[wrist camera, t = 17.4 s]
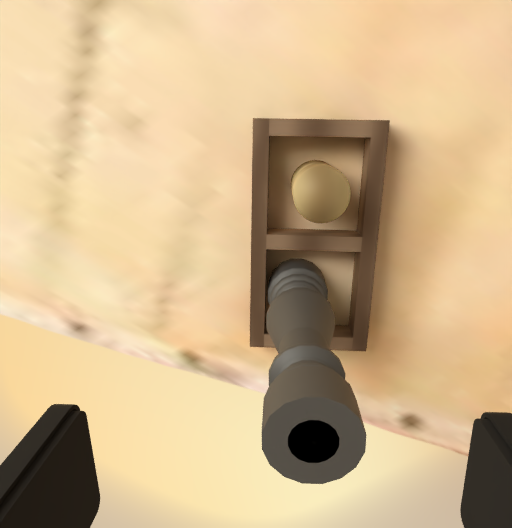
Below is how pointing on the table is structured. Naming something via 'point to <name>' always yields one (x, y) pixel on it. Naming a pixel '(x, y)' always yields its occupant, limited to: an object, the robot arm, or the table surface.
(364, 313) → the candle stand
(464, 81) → the table surface
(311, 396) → the candle holder
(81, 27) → the table surface
